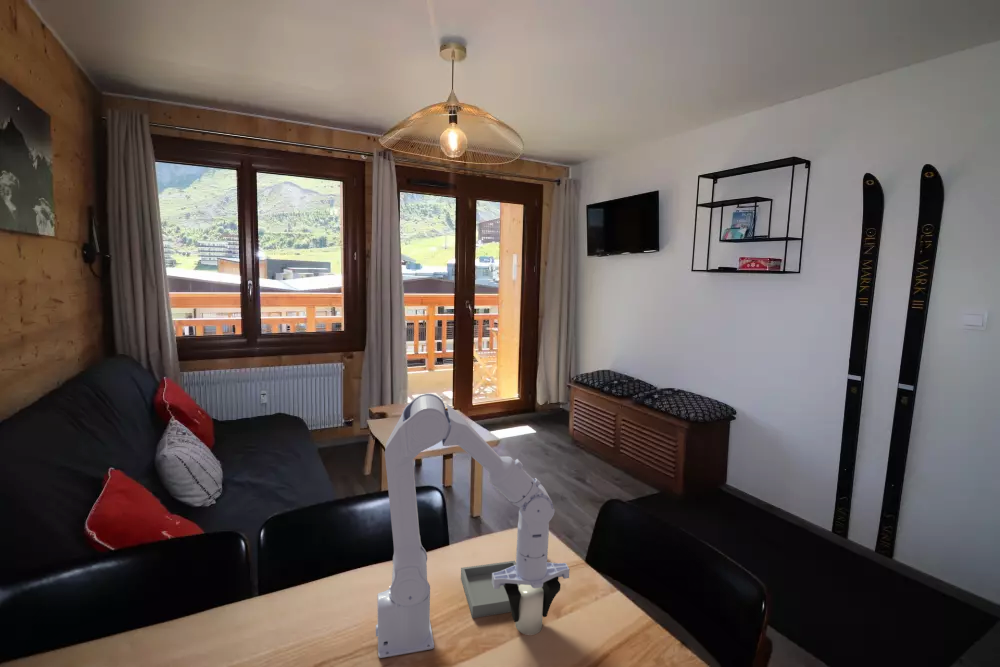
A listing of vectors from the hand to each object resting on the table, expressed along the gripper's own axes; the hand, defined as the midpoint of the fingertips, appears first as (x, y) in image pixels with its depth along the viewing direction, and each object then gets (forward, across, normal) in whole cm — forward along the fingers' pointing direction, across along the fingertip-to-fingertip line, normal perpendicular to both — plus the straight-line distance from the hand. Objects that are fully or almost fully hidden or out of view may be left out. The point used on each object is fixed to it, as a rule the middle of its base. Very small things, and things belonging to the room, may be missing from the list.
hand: (529, 615), depth 92 cm
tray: (+2, -4, +10) cm, 11 cm away
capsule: (+2, 0, 0) cm, 2 cm away
